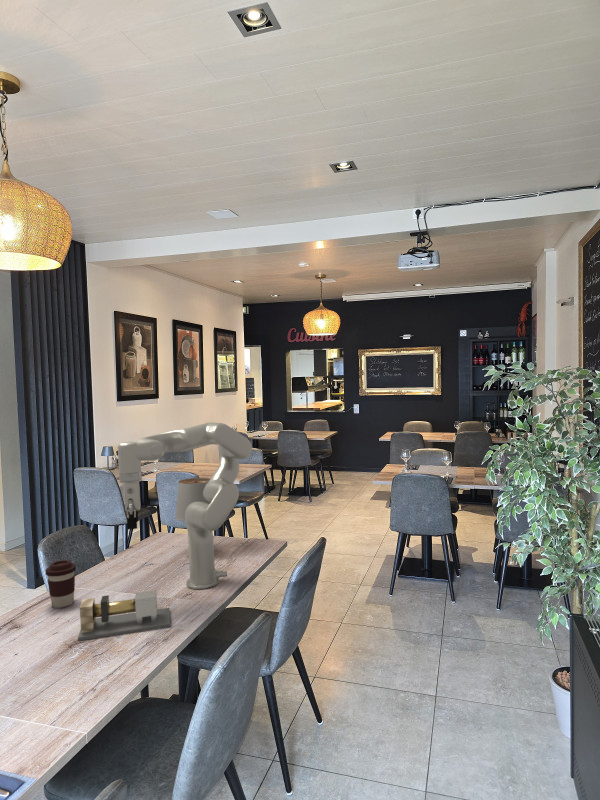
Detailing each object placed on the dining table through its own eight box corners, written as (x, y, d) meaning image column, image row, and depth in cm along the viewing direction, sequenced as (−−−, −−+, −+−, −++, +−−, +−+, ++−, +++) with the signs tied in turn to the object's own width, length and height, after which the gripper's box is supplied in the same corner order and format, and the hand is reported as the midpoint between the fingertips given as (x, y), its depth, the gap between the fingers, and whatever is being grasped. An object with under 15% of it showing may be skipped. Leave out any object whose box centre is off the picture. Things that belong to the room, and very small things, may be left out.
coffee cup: (83, 600, 196) (81, 559, 195) (63, 611, 186) (61, 568, 186) (62, 597, 199) (59, 557, 199) (41, 608, 190) (38, 566, 189)
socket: (95, 622, 174) (94, 598, 174) (93, 631, 168) (92, 606, 168) (83, 623, 173) (82, 599, 173) (81, 632, 167) (79, 607, 167)
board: (169, 610, 183) (169, 607, 183) (170, 626, 171) (170, 623, 171) (83, 623, 176) (83, 620, 176) (78, 640, 164) (77, 637, 164)
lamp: (186, 548, 253) (182, 477, 252) (224, 548, 251) (221, 476, 249) (170, 561, 234) (167, 485, 233) (212, 562, 232) (209, 484, 231)
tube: (144, 609, 177) (143, 590, 177) (144, 616, 172) (143, 596, 172) (86, 618, 173) (85, 598, 173) (84, 625, 168) (83, 604, 168)
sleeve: (157, 613, 179) (156, 590, 179) (157, 621, 173) (156, 596, 173) (137, 616, 177) (135, 592, 177) (136, 624, 172) (135, 599, 171)
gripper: (140, 480, 181) (143, 530, 181) (142, 472, 198) (144, 518, 198) (117, 482, 179) (120, 532, 179) (120, 474, 196) (123, 520, 196)
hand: (133, 525), depth 189 cm, fingers open, 9 cm apart
